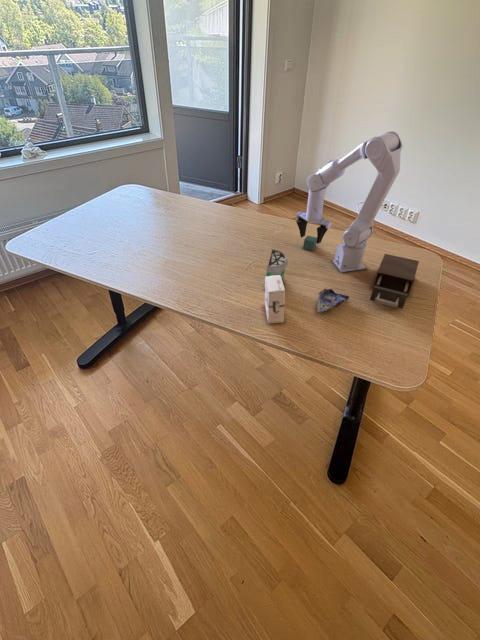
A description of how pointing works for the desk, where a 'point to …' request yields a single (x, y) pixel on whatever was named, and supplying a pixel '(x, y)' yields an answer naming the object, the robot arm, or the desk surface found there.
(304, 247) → the block
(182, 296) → the desk surface
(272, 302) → the ink box
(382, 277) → the drawer
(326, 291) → the snack package
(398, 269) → the cabinet
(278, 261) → the food container
